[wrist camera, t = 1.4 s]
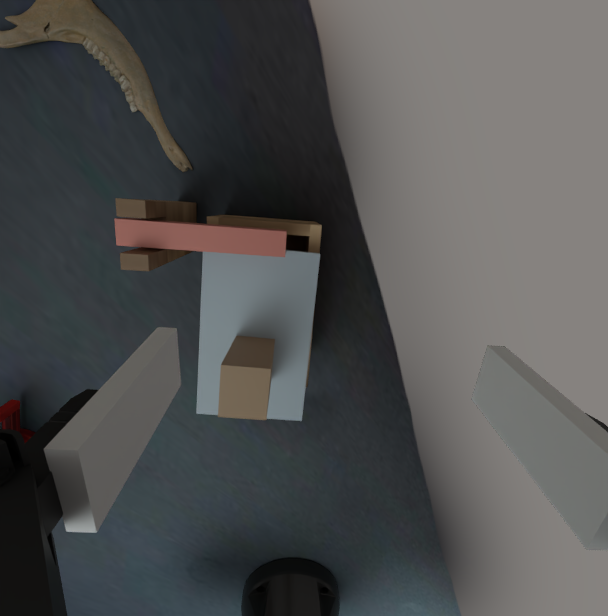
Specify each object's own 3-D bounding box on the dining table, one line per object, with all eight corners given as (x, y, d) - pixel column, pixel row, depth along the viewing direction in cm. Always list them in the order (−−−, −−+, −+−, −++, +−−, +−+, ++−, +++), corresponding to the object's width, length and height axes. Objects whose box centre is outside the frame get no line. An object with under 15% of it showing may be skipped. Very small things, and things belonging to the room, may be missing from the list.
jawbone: (38, -45, 31) (22, -64, 29) (234, 100, 35) (232, 92, 33) (-3, 48, 32) (-21, 36, 30) (190, 177, 36) (186, 174, 34)
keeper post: (197, 249, 38) (148, 271, 25) (178, 248, 38) (121, 269, 25) (196, 202, 36) (144, 200, 23) (177, 201, 36) (115, 198, 23)
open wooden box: (304, 353, 42) (307, 387, 34) (223, 349, 41) (207, 382, 34) (315, 221, 37) (321, 225, 30) (224, 214, 37) (206, 216, 29)
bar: (285, 253, 29) (285, 257, 27) (128, 242, 28) (116, 245, 26) (286, 229, 28) (286, 231, 26) (126, 217, 27) (114, 218, 25)
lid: (300, 409, 35) (304, 470, 26) (202, 402, 34) (170, 462, 25) (318, 252, 31) (329, 259, 22) (209, 241, 31) (176, 244, 22)
